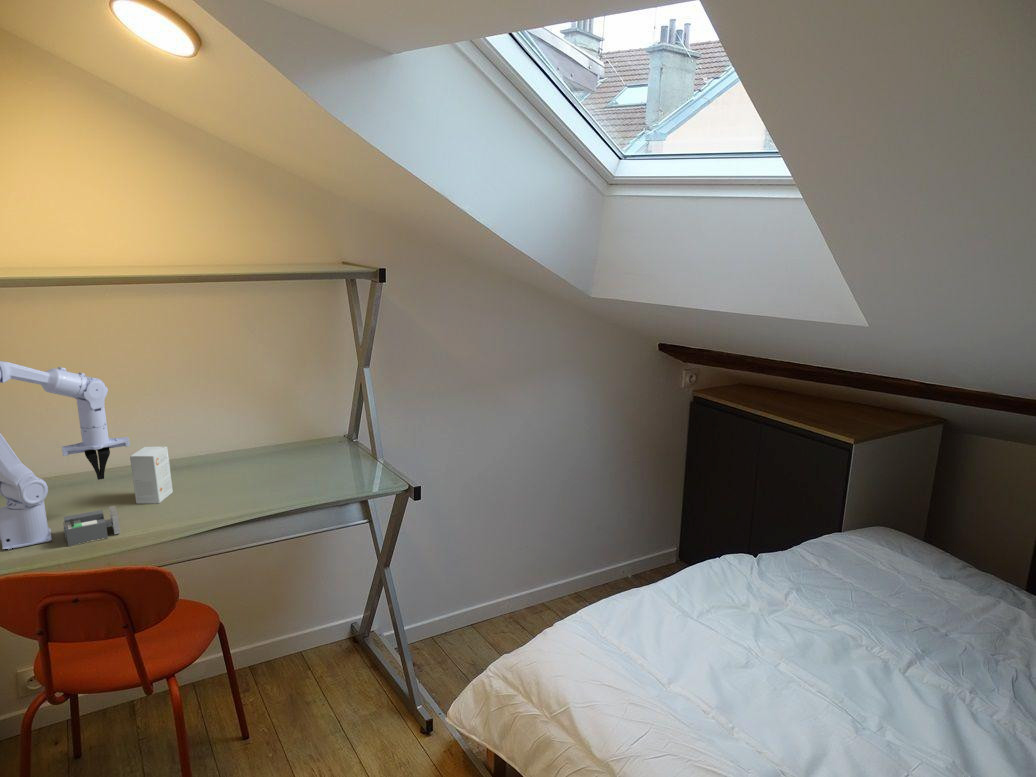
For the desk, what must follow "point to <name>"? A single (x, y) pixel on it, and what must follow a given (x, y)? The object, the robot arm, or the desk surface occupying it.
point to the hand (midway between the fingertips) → (100, 478)
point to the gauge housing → (86, 527)
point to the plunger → (111, 522)
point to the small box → (151, 474)
